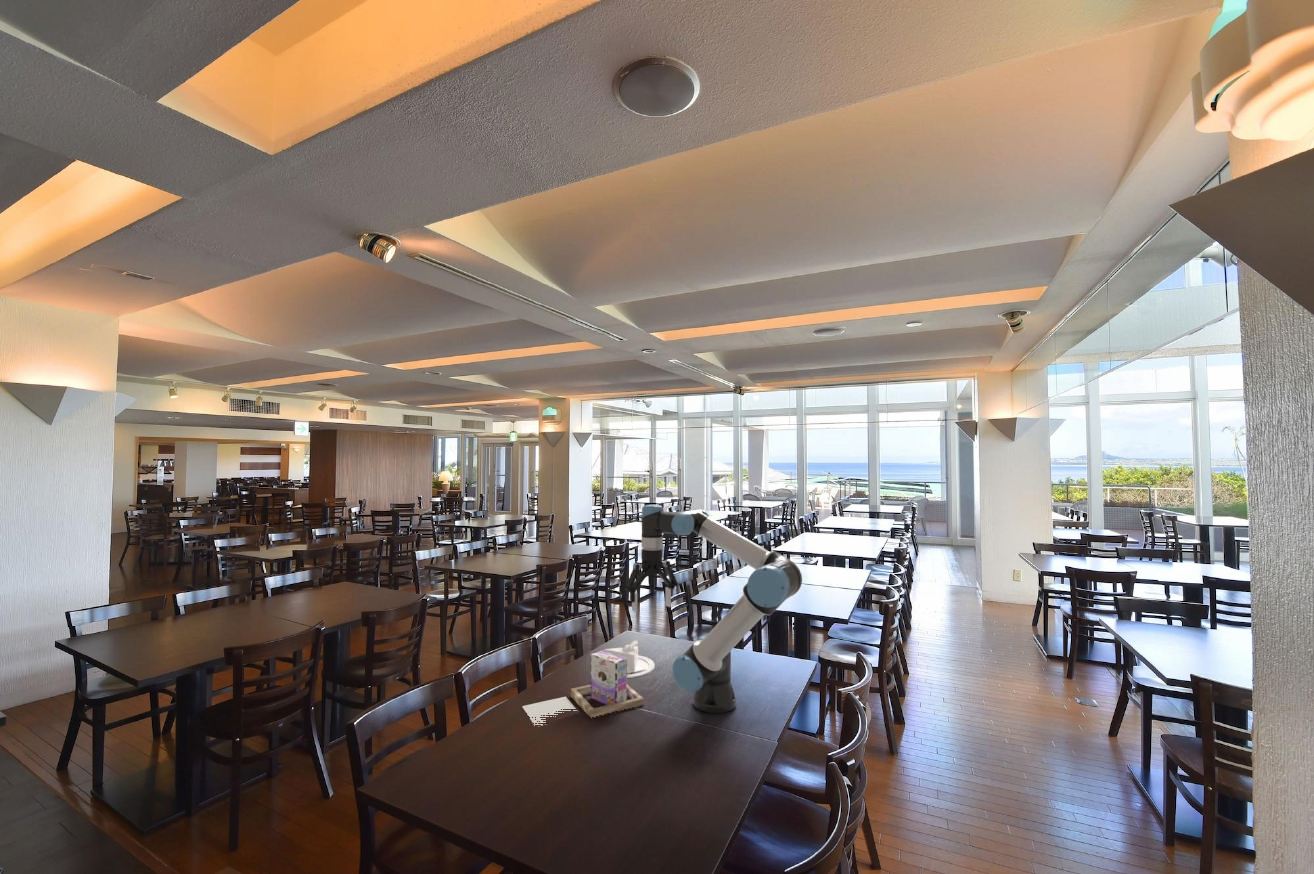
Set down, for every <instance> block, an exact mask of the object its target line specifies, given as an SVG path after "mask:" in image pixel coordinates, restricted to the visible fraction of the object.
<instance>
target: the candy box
mask: <svg viewBox="0 0 1314 874" xmlns="http://www.w3.org/2000/svg"><path fill="white" fill-rule="evenodd" d="M590 685H591V694H590V699H593V700H594V701H597V702H599V703H600V704H604V705H605V706H606V705H610V704H614V703H618V702H623V701H627V700H628V699H627V698H628V696H627V685H628V678H627V659H625V658H622V657H619V656H616V655H613V654H610V653H608V652H605V651H604V650H599V651H597V652H593V653H591V654H590Z"/></svg>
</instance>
